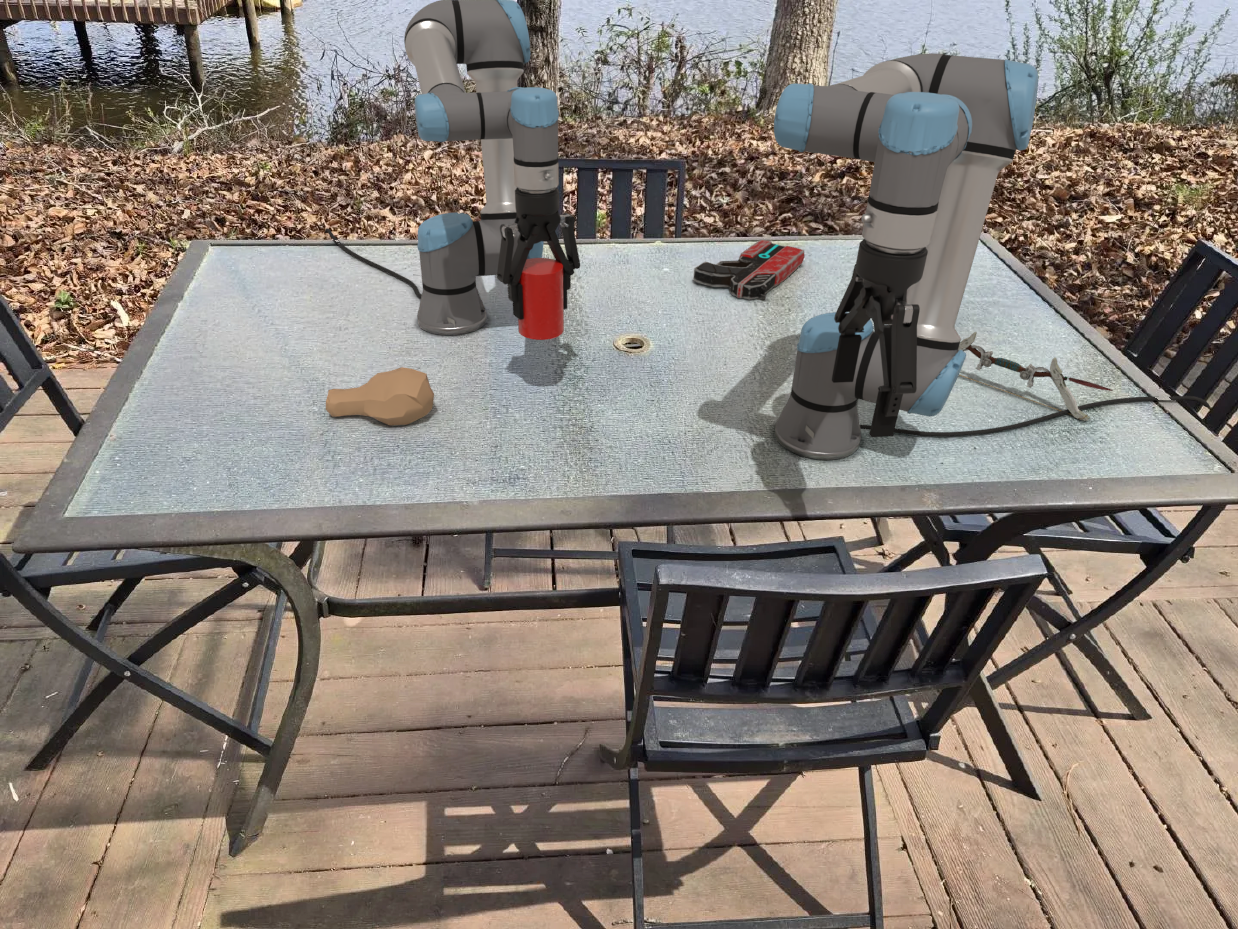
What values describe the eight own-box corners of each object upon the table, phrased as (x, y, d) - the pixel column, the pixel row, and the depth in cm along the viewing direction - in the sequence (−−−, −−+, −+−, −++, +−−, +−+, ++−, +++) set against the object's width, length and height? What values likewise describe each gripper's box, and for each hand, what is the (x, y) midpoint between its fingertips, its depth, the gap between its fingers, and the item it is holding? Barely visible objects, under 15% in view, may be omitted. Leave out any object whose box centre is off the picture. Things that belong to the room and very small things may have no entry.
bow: (1101, 423, 166) (1119, 376, 160) (1098, 427, 165) (1116, 380, 159) (913, 357, 187) (924, 314, 182) (909, 360, 186) (919, 316, 181)
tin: (517, 339, 159) (514, 274, 153) (519, 320, 166) (517, 257, 160) (563, 340, 160) (562, 274, 153) (564, 320, 167) (563, 257, 160)
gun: (689, 269, 215) (762, 288, 207) (741, 232, 237) (809, 248, 229) (687, 286, 217) (759, 305, 209) (739, 248, 239) (806, 264, 231)
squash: (434, 432, 158) (421, 393, 152) (327, 440, 160) (310, 402, 153) (443, 394, 166) (431, 355, 160) (341, 402, 167) (325, 364, 161)
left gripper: (490, 202, 141) (497, 331, 154) (601, 184, 151) (600, 306, 164) (470, 190, 146) (478, 316, 159) (578, 173, 156) (579, 293, 169)
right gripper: (826, 208, 108) (801, 362, 120) (907, 286, 88) (868, 462, 100) (883, 207, 109) (854, 360, 121) (977, 284, 89) (931, 459, 101)
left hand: (540, 311), depth 161 cm, fingers closed on tin, 8 cm apart
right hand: (860, 406), depth 110 cm, fingers open, 13 cm apart
